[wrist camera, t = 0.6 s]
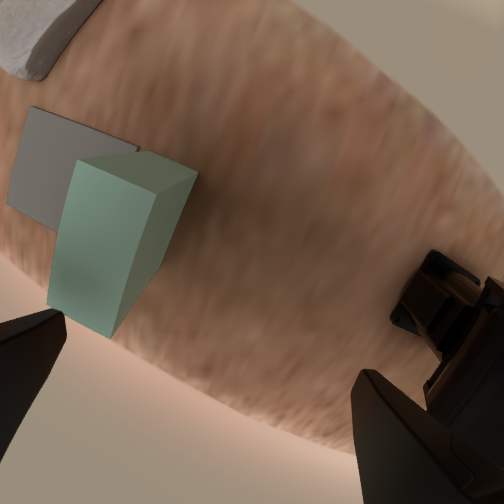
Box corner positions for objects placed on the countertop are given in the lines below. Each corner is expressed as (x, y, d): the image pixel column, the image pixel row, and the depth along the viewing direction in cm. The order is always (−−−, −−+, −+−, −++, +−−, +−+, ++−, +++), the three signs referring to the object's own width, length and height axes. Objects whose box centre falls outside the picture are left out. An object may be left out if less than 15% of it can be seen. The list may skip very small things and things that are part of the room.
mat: (139, 146, 19) (137, 147, 18) (103, 253, 21) (101, 255, 21) (33, 106, 17) (30, 106, 17) (9, 202, 20) (6, 203, 19)
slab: (198, 172, 19) (157, 194, 11) (160, 266, 21) (110, 339, 13) (149, 150, 19) (77, 159, 10) (115, 245, 21) (46, 304, 12)
